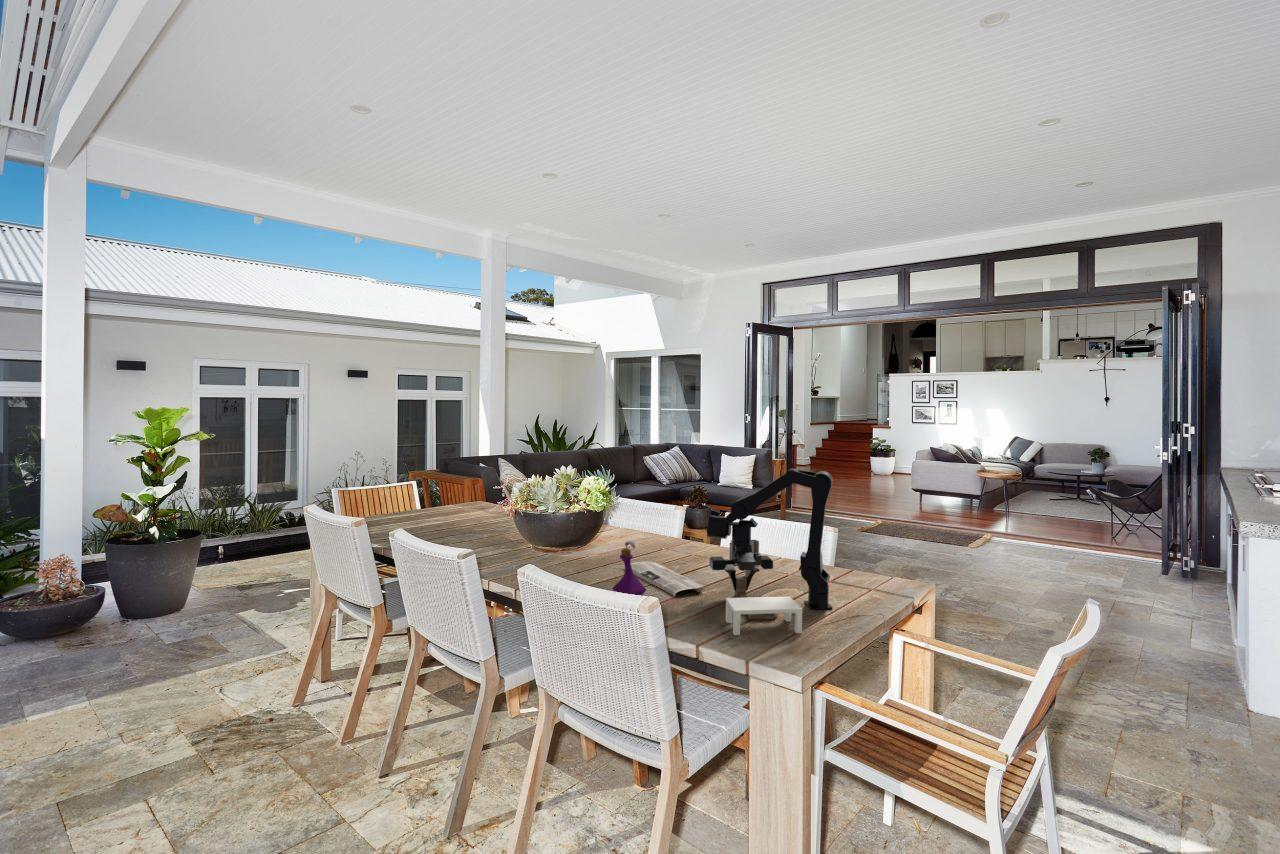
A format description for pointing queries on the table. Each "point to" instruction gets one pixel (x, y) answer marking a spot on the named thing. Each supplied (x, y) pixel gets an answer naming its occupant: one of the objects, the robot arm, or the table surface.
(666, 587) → the newspaper
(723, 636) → the table surface
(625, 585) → the perfume bottle
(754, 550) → the ruin model on sheet
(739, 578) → the tan post with foot
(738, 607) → the low shelf
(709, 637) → the table surface
